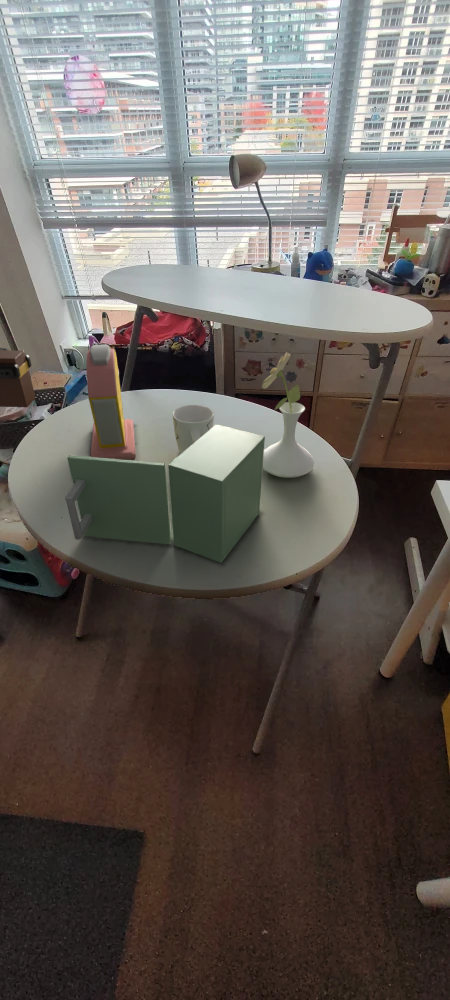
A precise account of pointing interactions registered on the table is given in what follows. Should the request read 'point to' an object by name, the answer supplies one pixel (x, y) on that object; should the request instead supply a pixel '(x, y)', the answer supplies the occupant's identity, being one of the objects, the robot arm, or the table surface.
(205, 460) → the cupboard
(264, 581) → the table surface
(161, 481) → the cupboard door
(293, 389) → the flower in vase
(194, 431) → the mug
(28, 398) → the chocolate box
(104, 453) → the yellow alarm clock
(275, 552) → the table surface
